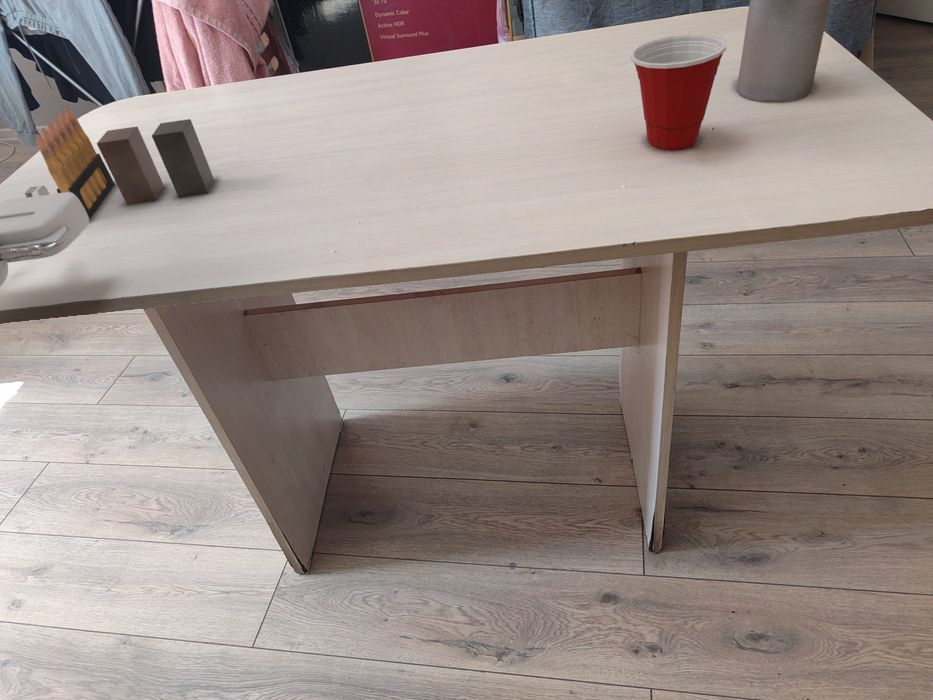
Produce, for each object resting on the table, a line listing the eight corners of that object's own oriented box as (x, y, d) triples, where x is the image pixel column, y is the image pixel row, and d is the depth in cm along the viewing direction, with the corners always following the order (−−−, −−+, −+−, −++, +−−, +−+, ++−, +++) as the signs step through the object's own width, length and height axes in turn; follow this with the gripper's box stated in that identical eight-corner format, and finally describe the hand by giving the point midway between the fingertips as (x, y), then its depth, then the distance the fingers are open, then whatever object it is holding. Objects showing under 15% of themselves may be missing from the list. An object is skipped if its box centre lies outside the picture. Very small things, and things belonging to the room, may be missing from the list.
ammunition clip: (89, 224, 88) (40, 136, 80) (75, 226, 88) (25, 138, 80) (116, 186, 96) (75, 102, 88) (103, 188, 96) (61, 104, 88)
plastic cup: (640, 122, 92) (645, 28, 84) (723, 129, 87) (737, 31, 79) (614, 157, 85) (617, 58, 77) (703, 167, 80) (715, 63, 72)
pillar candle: (775, 72, 99) (796, -44, 90) (827, 91, 92) (856, -32, 82) (721, 88, 97) (736, -28, 87) (770, 109, 90) (793, -15, 80)
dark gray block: (179, 200, 90) (151, 135, 84) (187, 186, 93) (160, 123, 87) (208, 196, 90) (182, 131, 84) (215, 182, 93) (190, 118, 87)
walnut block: (128, 207, 90) (96, 143, 84) (137, 193, 93) (107, 130, 87) (157, 203, 90) (127, 138, 84) (165, 189, 93) (137, 126, 87)
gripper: (38, 221, 62) (91, 156, 73) (-177, 250, 63) (-93, 182, 73) (71, 277, 66) (117, 208, 77) (-130, 304, 67) (-57, 232, 77)
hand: (13, 195), depth 75 cm, fingers open, 5 cm apart
